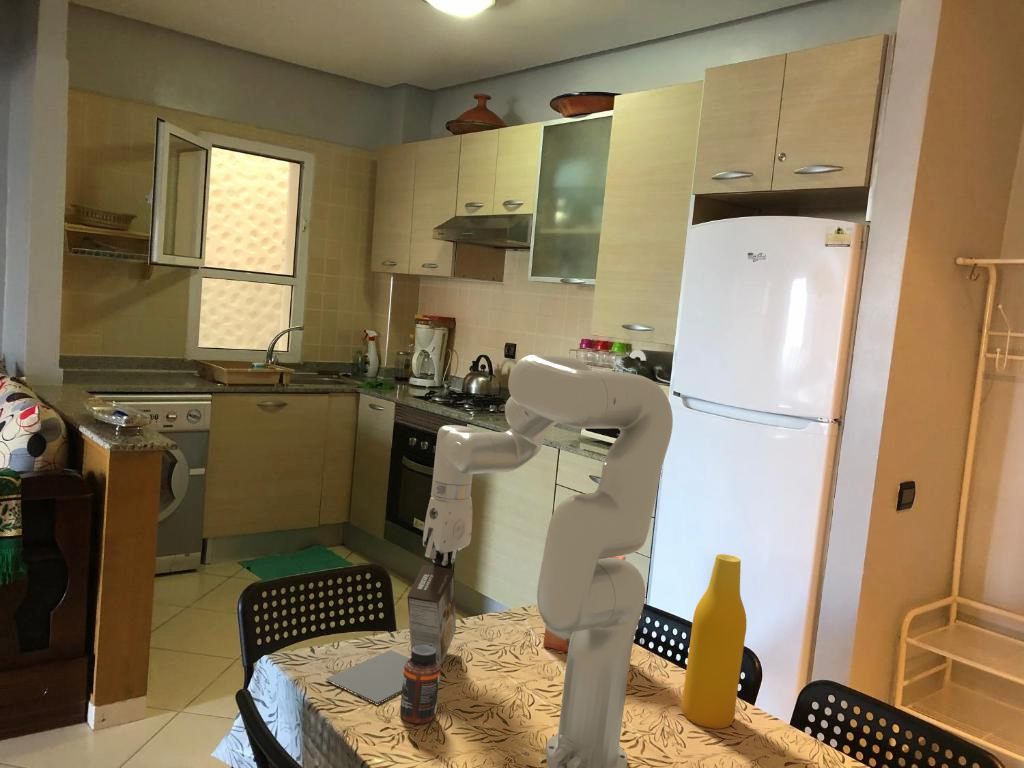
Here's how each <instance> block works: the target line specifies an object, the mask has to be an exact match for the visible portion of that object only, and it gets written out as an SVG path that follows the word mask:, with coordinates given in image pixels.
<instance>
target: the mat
mask: <svg viewBox="0 0 1024 768" xmlns="http://www.w3.org/2000/svg"><path fill="white" fill-rule="evenodd" d="M410 658H411V657H409V656H406V655H404V654H401V653H400V652H399V653H398V652H396V651H394V650H392V649H389V650H386V651H384V652H382V653H379V654H378V655H376V656H373V657H370V658H368V659H366V660H365V661H361V662H359V663H357V664H355V665H354V666H351V667H349V668H346V669H344V670H342V671H339V672H338V673H335V674H332V675H330V676H328V677H326V678H325V680H326V679H327V680H329V681H331V682H334V683H335V684H338V685H339V686H341V687H343V688H346V689H348V690H349V691H352V692H353V693H356V694H358V695H360V696H361V697H363V698H365V699H367V700H370V701H372V702H374V703H376V704H379V703H381V702H382V701H384V700H386V699H388V698H390V697H392V696H394V695H396V694H398V693H400V692H402V685H403V674H404V666H405V663H406V661H407V660H409V659H410ZM400 694H401V693H400ZM398 695H399V694H398ZM396 696H397V695H396ZM394 697H395V696H394ZM363 698H362V699H363ZM392 698H393V697H392ZM365 699H364V700H365ZM390 699H391V698H390ZM367 700H366V701H367ZM388 700H389V699H388ZM386 701H387V700H386ZM381 704H382V703H381ZM379 705H380V704H379Z"/></svg>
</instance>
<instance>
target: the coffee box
mask: <svg viewBox="0 0 1024 768" xmlns="http://www.w3.org/2000/svg"><path fill="white" fill-rule="evenodd" d="M455 586H456V585H455V569H453V568H452V569H447V568H442V567H436V566H434V565H433V566H431V565H425V564H422V566H421V569H420V570H419V572H418V574H417V576H416V578H415V581H414V582H413V584H412V586H411V588H410V590H409V592H408V594H407V609H408V610H407V611H408V624H409V625H408V627H409V637H410V639H409V641H410V652H411V653H412V648H413V647H415V646H418V645H428V646H432V647H433V648H435V649H436V658H435V659H436V661H438V663H440V665H443V663H444V660H445V658H446V656H447V654H448V651H449V648H450V646H451V643H452V641H453V640H454V639H453V638H454V636H455V634H456V632H457V626H456V624H457V623H456V622H457V621H456V620H457V619H456V616H457V615H456V594H455V593H456V592H455V591H456V589H455Z"/></svg>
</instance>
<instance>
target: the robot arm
mask: <svg viewBox="0 0 1024 768" xmlns="http://www.w3.org/2000/svg"><path fill="white" fill-rule="evenodd" d="M507 382H508V390H509V391H508V392H509V394H510V397H509V398H507V399H508V400H506V403H505V406H504V415H505V419H506V421H507V423H508V425H509V427H510V429H508V430H506V431H504V432H503V431H502V432H501V431H499V432H498V431H494V432H491V431H486V432H485V431H484V432H483V431H482V432H476V430H475V429H473V428H471V427H469V426H464V425H455V424H453V425H452V424H448V425H442V426H440V428H439V429H438V432H437V434H436V435H437V436H436V437H437V438H436V445H435V455H434V465H433V474H432V483H431V484H432V485H431V492H430V499H429V501H428V502H429V503H428V507H427V510H426V515H425V520H424V528H423V536H422V546H423V547H424V548H425V553H424V556H425V557H426V558H428V559H432V562H433V563H434V565H433V567H434V566H436V567H442V568H447V569H453V564H454V563H455V561H456V558H457V557H456V556H457V553H458V552H459V551H461V550H462V549H463V548H466V547H468V546H469V545H470V544H471V541H472V532H473V531H472V530H473V529H472V528H473V501H472V497H471V492H472V484H473V483H472V482H473V475H476V474H490V473H491V474H492V473H493V474H495V473H508V472H512V471H516V470H517V469H519V468H521V467H522V466H524V465H525V464H526V463H528V462H529V461H531V460H532V459H533V458H535V457H536V456H537V455H538V454H539V452H540V451H541V449H542V446H543V444H544V441H545V435H546V433H547V432H549V430H551V429H552V428H553V427H554V426H555V425H558V424H561V425H563V426H567V427H571V428H575V429H586V430H587V429H618V430H619V431H620V433H619V435H618V437H617V438H616V439H615V440H614V442H613V443H612V445H610V447H609V450H608V451H607V454H606V455H605V457H604V461H603V464H602V469H601V476H600V479H599V483H598V485H597V486H598V487H597V488H596V490H595V491H594V492H591V493H581V494H580V493H579V494H574V495H571V496H569V497H567V498H565V499H564V500H563V501H561V502H560V503H559V504H558V505H557V507H556V508H555V510H554V512H553V513H552V515H551V518H550V520H549V523H548V527H547V528H548V529H547V532H546V538H545V543H544V549H543V555H542V558H541V559H542V561H541V565H540V570H539V576H538V581H537V582H538V583H537V589H536V591H537V592H536V599H537V600H536V602H537V607H538V608H537V609H538V612H539V615H540V617H541V619H542V620H543V622H544V624H545V626H546V625H547V626H548V627H550V628H551V629H552V630H554V631H557V632H561V633H571V632H573V633H572V636H571V639H570V643H569V649H568V652H567V657H566V664H565V665H566V666H565V673H564V681H563V688H562V689H563V690H562V698H561V706H560V712H559V723H558V729H557V730H558V731H557V734H555V735H553V736H552V737H550V738H549V739H548V740H547V743H546V746H545V748H546V749H545V756H546V766H547V767H548V768H628V763H629V761H628V755H627V754H626V752H625V750H624V748H622V747H621V746H620V741H621V736H622V735H621V734H622V727H623V717H624V710H625V703H626V697H627V688H628V681H629V680H628V679H629V672H630V665H631V659H632V653H633V652H632V651H633V645H634V639H635V635H636V632H637V628H638V625H639V621H640V619H641V616H642V613H643V609H644V605H645V599H646V586H645V581H644V579H643V576H642V574H641V572H640V571H639V569H638V568H637V567H636V566H635V565H634V564H632V563H631V562H629V561H628V560H626V559H625V560H622V559H618V558H610V557H616V556H627V555H631V554H634V553H636V552H638V551H639V550H640V549H642V547H643V546H645V544H646V541H647V538H648V535H649V531H650V527H651V522H652V517H653V513H654V508H655V504H656V498H657V493H658V489H659V482H660V476H661V472H662V468H663V464H664V461H665V459H666V455H667V451H668V448H669V445H670V442H671V437H672V432H673V422H674V421H673V419H674V418H673V409H672V407H671V404H670V400H669V398H668V396H667V394H666V393H665V391H664V390H663V389H662V388H661V387H660V386H659V384H657V383H656V382H655V381H653V380H652V379H650V378H648V377H646V376H643V375H641V374H636V373H631V372H630V373H629V372H619V371H618V372H617V371H600V370H598V371H596V370H592V369H591V368H590V367H589V366H588V365H587V363H585V362H584V361H582V360H580V359H577V358H575V357H571V356H563V355H562V356H561V355H559V356H558V355H550V354H549V355H548V354H530V355H527V356H524V357H523V358H521V359H519V360H518V361H517V362H516V363H515V365H514V366H513V367H512V369H511V371H510V374H509V377H508V381H507Z"/></svg>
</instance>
